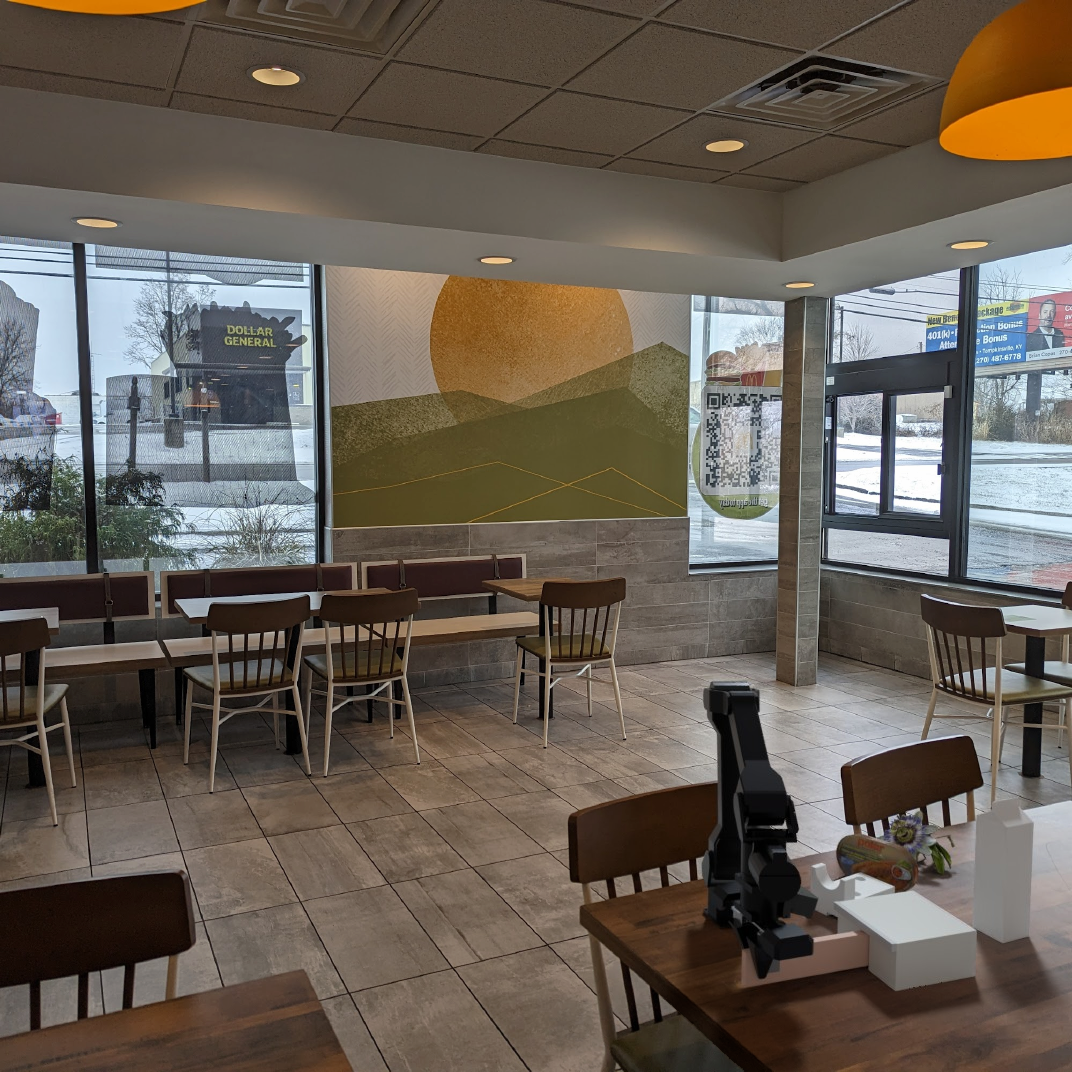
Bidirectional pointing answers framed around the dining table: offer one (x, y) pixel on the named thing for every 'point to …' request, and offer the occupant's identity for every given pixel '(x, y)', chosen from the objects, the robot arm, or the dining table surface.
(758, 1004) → the dining table surface
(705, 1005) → the dining table surface
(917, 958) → the white box
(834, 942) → the pink plank
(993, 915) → the milk
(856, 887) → the bracket
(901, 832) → the passion flower
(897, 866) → the tin
